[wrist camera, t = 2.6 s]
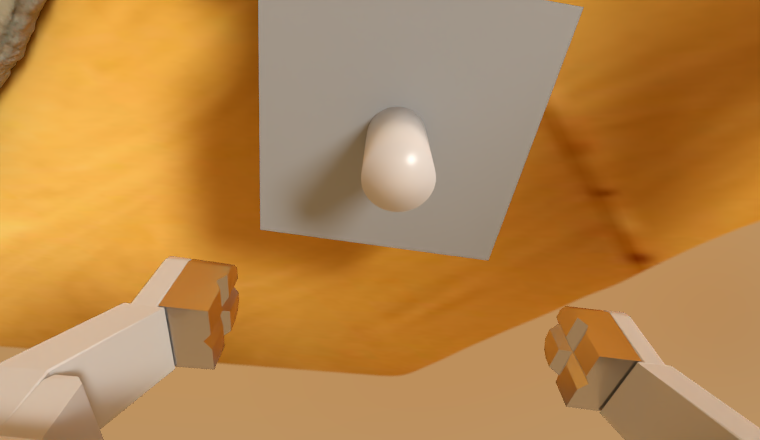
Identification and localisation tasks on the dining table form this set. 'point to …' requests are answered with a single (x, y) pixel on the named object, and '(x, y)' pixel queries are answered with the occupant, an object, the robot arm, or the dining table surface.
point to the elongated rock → (16, 31)
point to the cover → (402, 116)
